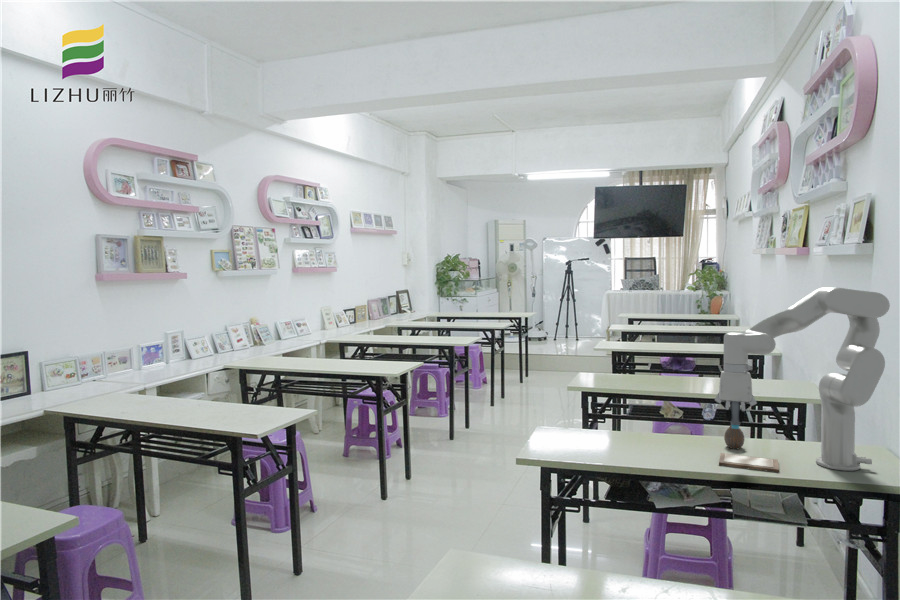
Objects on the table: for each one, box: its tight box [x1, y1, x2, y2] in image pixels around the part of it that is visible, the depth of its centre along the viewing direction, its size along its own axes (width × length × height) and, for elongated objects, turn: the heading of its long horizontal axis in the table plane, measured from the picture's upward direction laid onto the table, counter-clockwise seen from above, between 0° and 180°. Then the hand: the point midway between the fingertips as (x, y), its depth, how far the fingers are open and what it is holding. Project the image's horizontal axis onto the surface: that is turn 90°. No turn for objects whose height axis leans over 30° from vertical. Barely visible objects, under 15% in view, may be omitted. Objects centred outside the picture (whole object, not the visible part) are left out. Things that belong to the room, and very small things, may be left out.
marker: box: [730, 401, 741, 429], centre depth 200 cm, size 3×3×12 cm
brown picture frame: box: [718, 452, 780, 473], centre depth 201 cm, size 18×12×1 cm, turn 62°
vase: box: [723, 423, 745, 449], centre depth 220 cm, size 7×7×9 cm
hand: (735, 420), depth 200 cm, fingers closed on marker, 3 cm apart
